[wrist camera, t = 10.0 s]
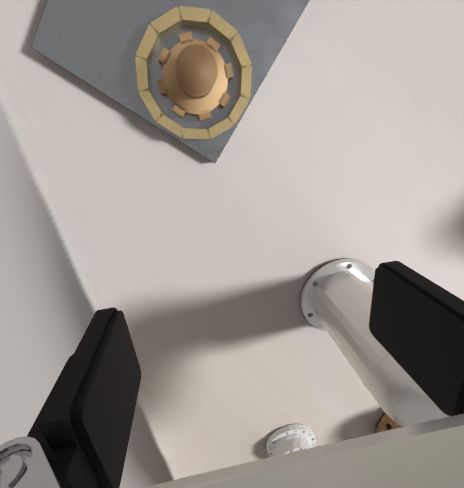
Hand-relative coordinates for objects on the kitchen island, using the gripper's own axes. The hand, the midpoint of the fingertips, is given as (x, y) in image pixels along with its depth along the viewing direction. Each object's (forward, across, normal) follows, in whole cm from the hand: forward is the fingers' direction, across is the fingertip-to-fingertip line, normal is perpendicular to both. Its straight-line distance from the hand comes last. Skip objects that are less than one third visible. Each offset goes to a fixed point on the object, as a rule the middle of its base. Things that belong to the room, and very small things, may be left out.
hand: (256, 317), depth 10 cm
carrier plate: (+26, 0, -18) cm, 32 cm away
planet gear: (+25, 0, -11) cm, 27 cm away
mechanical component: (+27, -10, +52) cm, 60 cm away
